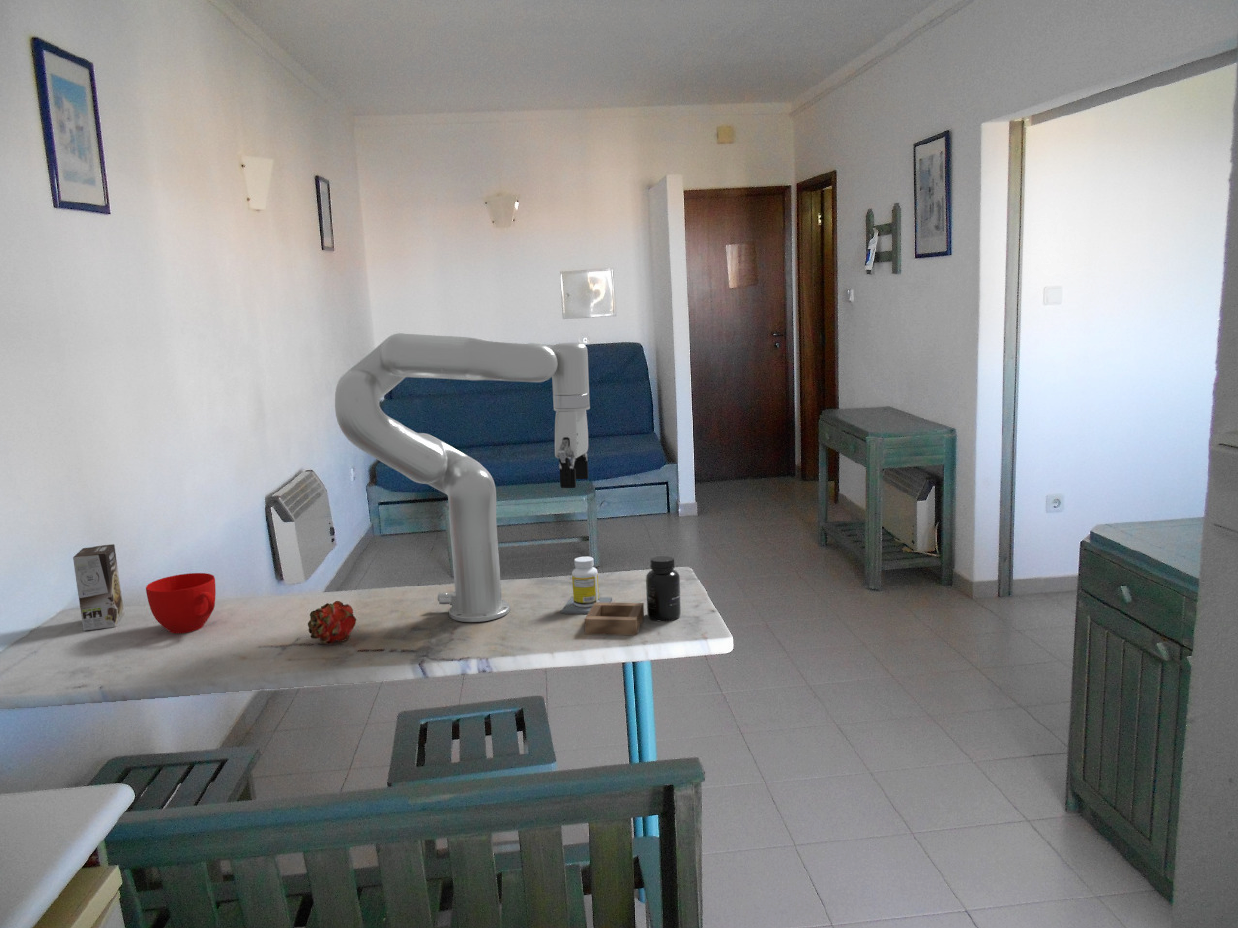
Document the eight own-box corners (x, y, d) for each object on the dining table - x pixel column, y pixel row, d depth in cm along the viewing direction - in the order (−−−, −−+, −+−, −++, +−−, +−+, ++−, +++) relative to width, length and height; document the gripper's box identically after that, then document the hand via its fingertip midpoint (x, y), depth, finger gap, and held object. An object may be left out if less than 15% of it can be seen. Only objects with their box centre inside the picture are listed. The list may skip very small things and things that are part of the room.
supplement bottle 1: (582, 598, 195) (580, 554, 194) (604, 601, 193) (602, 556, 191) (568, 605, 191) (566, 560, 189) (590, 609, 188) (587, 563, 186)
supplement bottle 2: (681, 621, 180) (679, 562, 178) (647, 622, 181) (645, 564, 179) (680, 609, 187) (678, 553, 185) (647, 611, 187) (644, 554, 185)
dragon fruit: (313, 660, 173) (346, 646, 184) (345, 635, 171) (377, 623, 182) (289, 623, 174) (323, 611, 185) (321, 598, 172) (354, 588, 183)
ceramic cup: (186, 646, 179) (180, 597, 177) (139, 633, 188) (132, 586, 186) (244, 625, 189) (239, 579, 188) (197, 614, 199) (191, 569, 197)
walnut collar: (585, 633, 176) (584, 619, 175) (595, 616, 185) (594, 602, 185) (636, 634, 174) (635, 619, 173) (644, 617, 184) (643, 602, 183)
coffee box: (116, 627, 192) (106, 553, 190) (82, 631, 191) (71, 557, 188) (125, 613, 201) (115, 543, 198) (93, 618, 199) (82, 546, 196)
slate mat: (561, 613, 188) (561, 610, 188) (571, 599, 197) (571, 596, 197) (604, 614, 187) (604, 611, 187) (612, 600, 195) (612, 597, 195)
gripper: (566, 398, 199) (569, 475, 202) (541, 407, 182) (545, 491, 185) (599, 398, 197) (602, 476, 200) (577, 407, 180) (580, 491, 183)
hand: (574, 483), depth 192 cm, fingers open, 9 cm apart
